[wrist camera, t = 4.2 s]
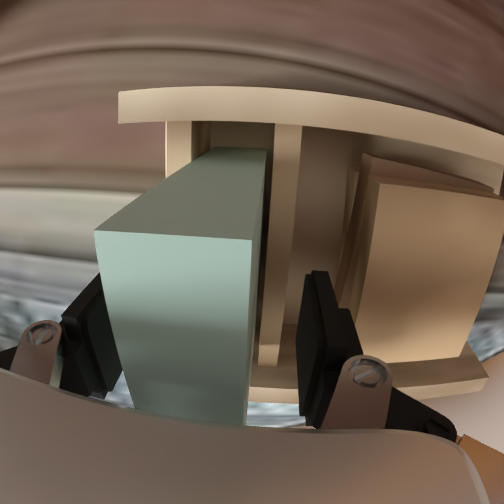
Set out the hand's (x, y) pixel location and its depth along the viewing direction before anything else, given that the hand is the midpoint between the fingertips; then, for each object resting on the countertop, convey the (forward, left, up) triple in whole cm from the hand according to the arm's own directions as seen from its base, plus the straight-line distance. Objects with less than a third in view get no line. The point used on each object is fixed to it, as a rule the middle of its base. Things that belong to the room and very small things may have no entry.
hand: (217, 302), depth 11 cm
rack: (0, +6, -9) cm, 10 cm away
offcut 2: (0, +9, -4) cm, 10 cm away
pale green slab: (0, 0, -7) cm, 7 cm away
